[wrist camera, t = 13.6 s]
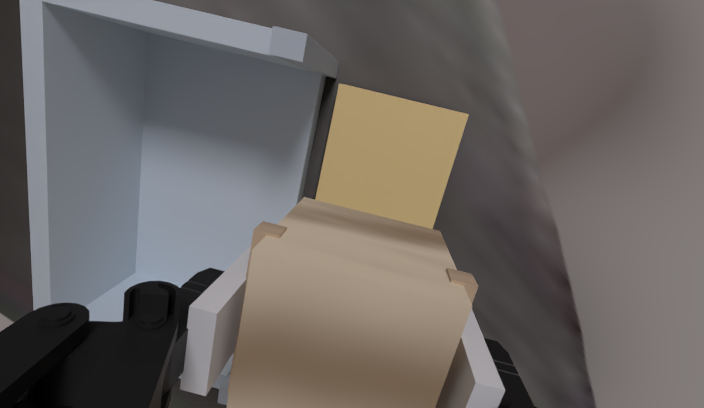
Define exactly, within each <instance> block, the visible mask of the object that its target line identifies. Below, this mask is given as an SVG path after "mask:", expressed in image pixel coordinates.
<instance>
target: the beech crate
mask: <svg viewBox="0 0 704 408" xmlns="http://www.w3.org/2000/svg"><path fill="white" fill-rule="evenodd" d="M246 278H247V281H246V287H245V293H244V299H243V305H242V312H241V318H240V324H239V330H238V336H237V342H236V348H235V351H234V355H233V361H232V367H231V373H230V379H229V386H228V392H227V394H229V396H228V402H227V408H435V406H436V404H437V401H438V398H439V396H440V393H441V390H442V387H443V385H444V382H445V379H446V377H447V374H448V371H449V368H450V366H451V363H452V360H453V358H454V355H455V352H456V349H457V347H458V344H459V341H460V339H461V336H462V333H463V330H464V328H465V325H466V322H467V320H468V317H469V314H470V311H471V309H472V302H473V300H474V297H475V294H476V291H477V289H478V285H477V283H476V281H475V279H474V277H473V275H472V274H469V273H466V272H462V271H458V270H457V269H456V267H455V265H454V262H453V260H452V258H451V255H450V253H449V251H448V249H447V246H446V244H445V242H444V239H443V237H442V235H441V232H440V231H438V230H434V229H430V228H426V227H422V226H418V225H414V224H410V223H406V222H402V221H398V220H394V219H390V218H386V217H382V216H378V215H374V214H370V213H366V212H362V211H358V210H354V209H350V208H346V207H342V206H338V205H334V204H330V203H326V202H322V201H318V200H314V199H310V198H306V197H304V198H303V199H302V200H301V201H300V202H299V203H298V204H297V205H296V206H295V207H294V208H293V209H292V210H291V211H290V212H289V213H288V214H287V215H286V216H285V217H284V218H283V219H282V220H281V221H280V222H279V223H278V224H273V223H269V222H265V221H263V222H261V223H260V224H259V225H258V226H257V227H256V228H254V231H253V237H252V243H251V249H250V256H249V262H248V268H247V274H246Z"/></svg>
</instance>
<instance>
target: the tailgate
mask: <svg viewBox="0 0 704 408" xmlns="http://www.w3.org/2000/svg"><path fill="white" fill-rule="evenodd" d="M468 116H469V114H465V113H461V112H457V111H453V110H449V109H444V108H440V107H436V106H432V105H428V104H424V103H419V102H415V101H411V100H407V99H403V98H399V97H394V96H390V95H386V94H382V93H378V92H374V91H369V90H365V89H361V88H357V87H353V86H349V85H344V84H340V83H339V87H338V92H337V97H336V102H335V106H334V111H333V116H332V121H331V126H330V131H329V135H328V140H327V145H326V150H325V155H324V160H323V164H322V169H321V174H320V179H319V184H318V189H317V193H316V198H315V200H318V201H322V202H326V203H330V204H334V205H338V206H342V207H346V208H350V209H354V210H358V211H362V212H366V213H370V214H374V215H378V216H382V217H386V218H390V219H394V220H398V221H402V222H406V223H410V224H414V225H418V226H422V227H426V228H430V229H433V225H434V222H435V219H436V216H437V213H438V210H439V207H440V203H441V200H442V197H443V194H444V191H445V188H446V185H447V181H448V178H449V175H450V172H451V169H452V166H453V163H454V159H455V156H456V153H457V150H458V147H459V144H460V141H461V138H462V134H463V131H464V128H465V125H466V122H467V119H468Z"/></svg>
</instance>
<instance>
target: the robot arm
mask: <svg viewBox="0 0 704 408" xmlns="http://www.w3.org/2000/svg"><path fill="white" fill-rule="evenodd" d="M250 249H251V246H250V247H249V248H248V249H247V250H246V251H245V252H244V253H243V254H242V255H241V256H240V257H239V258H238V259H237V260H236V261H235V262H234V263H233V264H232V265H231V266H230V267H229V268H228V269H227V270H226V271H221V270H217V269H214V268H208V269H205V270H203V271H200V272H197V273H196V274H195V275H194V276H193V277H191V278H190V279H189V280H188V282H186V283H184V284H183V285H182V286H181V288H179V287H178V286H177V285H174V284H172V283H170V282H165V281H147V282H142V283H138V284H136V285H134V286H131V287H130V288H129V289H127V290H126V291H125V292H124V308H123V321H120V322H108V321H89V314H90V311H89V310H88V309H87V308H86V307H85V306H83V305H80V304H77V303H56V304H51V305H47V306H44V307H40V308H38V309H36V310H34V311H32V312H30V313H28V314H27V315H25V316H24V317H22V318H21V319H19V320H18V321H16V322H15V323H13V324H12V325H10V326H9V327H7V328H6V329H4V330H3V331H1V332H0V408H168V406H169V402H170V399H171V389H172V385H173V384H174V383H175V382H176V380H177V379H178V378H179V377H180V375H181V374H182V375H181V384H180V389H181V390H184V391H188V392H192V393H195V394H199V395H202V396H206V395H207V393H208V392H209V390H210V389H211V387H212V386H213V384H214V383H215V381H216V379H217V378H218V376H219V375H220V373H221V372H222V370H223V368H224V367H225V365H226V364H227V362H228V361H229V359H230V357H231V356H232V354H233V353H234V351H235V348H236V342H237V336H238V330H239V324H240V318H241V312H242V305H243V299H244V293H245V287H246V281H247V278H246V274H247V268H248V262H249V256H250ZM513 365H514V364H513V362H512V360H511V358H510V356H509V354H508V352H507V351H506V350H505V349H504V348H503V347H502V346H501V345H500V344H499V343H498V342H497V341H494V340H490V339H486V338H483V335H482V333H481V330H480V328H479V326H478V323H477V321H476V318H475V316H474V314H473V311H472V309H471V311H470V314H469V317H468V320H467V322H466V325H465V328H464V330H463V333H462V336H461V339H460V341H459V344H458V347H457V349H456V352H455V355H454V358H453V360H452V363H451V366H450V368H449V371H448V374H447V377H446V379H445V382H444V385H443V387H442V390H441V393H440V396H439V398H438V401H437V404H436V406H435V408H537V407H535V406H534V405H533V403H532V401H531V399H530V397H529V395H528V393H527V390H526V388H525V386H524V384H523V382H522V380H521V378H520V376H518V372H517V370H516V368H515V367H514V366H513Z"/></svg>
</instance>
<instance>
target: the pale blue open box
mask: <svg viewBox="0 0 704 408" xmlns="http://www.w3.org/2000/svg"><path fill="white" fill-rule="evenodd" d="M20 21H21V44H22V66H23V88H24V110H25V132H26V154H27V176H28V198H29V220H30V243H31V265H32V287H33V309H34V310H36V309H38V308H40V307H44V306H47V305H51V304H56V303H77V304H80V305H83V306H85V307H86V308H87V309H88V310H89V311H90V314H89V321H108V322H120V321H123V308H124V292H125V291H126V290H127V289H129V288H130V287H131V286H134V285H136V284H138V283H142V282H147V281H165V282H170V283H172V284H174V285H177V286H178V287H179V288H181V286H182V285H183V284H184V283H186V282H188V280H189V279H190V278H191V277H193V276H194V275H195V274H196V273H197V272H200V271H203V270H205V269H208V268H214V269H217V270H221V271H226V270H227V269H228V268H229V267H230V266H231V265H232V264H233V263H234V262H235V261H236V260H237V259H238V258H239V257H240V256H241V255H242V254H243V253H244V252H245V251H246V250H247V249H248V248H249V247H250V246H251V243H252V237H253V231H254V228H256V227H257V226H258V225H259V224H260V223H261V222H263V221H265V222H269V223H273V224H278V223H279V222H280V221H281V220H282V219H283V218H284V217H285V216H286V215H287V214H288V213H289V212H290V211H291V210H292V209H293V208H294V207H295V206H296V205H297V204H298V203H299V202H300V201H301V200H302V197H303V192H304V187H305V182H306V177H307V172H308V167H309V161H310V156H311V151H312V146H313V141H314V136H315V131H316V126H317V121H318V115H319V110H320V105H321V100H322V95H323V90H324V85H325V80H326V76H327V77H331V78H335V79H336V78H337V73H338V68H339V63H340V62H339V61H338V60H337V59H336V58H334V57H333V56H332V55H331V54H330V53H329V52H328V51H326V50H325V49H324V48H323V47H322V46H321V45H320V44H318V43H317V42H316V41H315V40H314V39H313V38H311V37H310V36H309V35H308V34H305V33H301V32H297V31H293V30H288V29H284V28H280V27H276V26H273V29H272V28H268V27H263V26H259V25H255V24H251V23H246V22H242V21H238V20H234V19H229V18H225V17H221V16H217V15H213V14H208V13H204V12H200V11H196V10H191V9H187V8H183V7H179V6H174V5H170V4H166V3H162V2H158V1H153V0H20ZM233 355H234V353H233V354H232V356H231V357H230V359H229V361H228V362H227V364H226V365H225V367H224V368H223V370H222V372H221V373H220V375H219V376H218V378H217V379H216V381H215V383H214V384H213V386H212V387H214V388H218V389H219V395H218V402H217V403H220V404H224V405H227V402H228V396H229V394H227V392H228V386H229V379H230V373H231V367H232V361H233ZM181 375H182V374H181ZM181 375H180V377H179V378H181Z"/></svg>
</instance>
